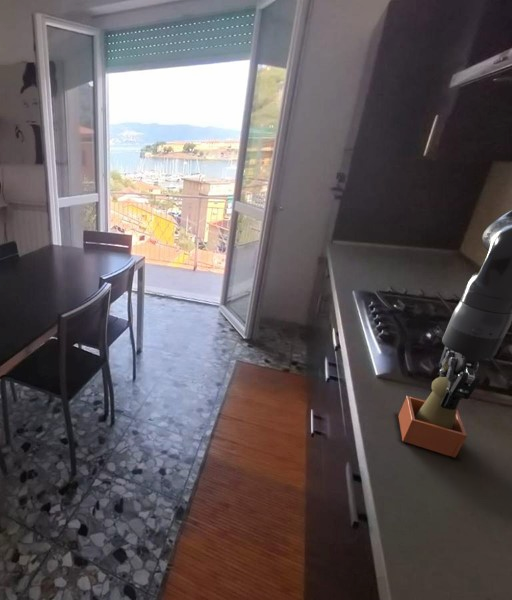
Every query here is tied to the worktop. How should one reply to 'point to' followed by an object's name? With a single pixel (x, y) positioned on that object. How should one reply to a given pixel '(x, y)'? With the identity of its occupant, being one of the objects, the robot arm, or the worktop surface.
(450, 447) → the box
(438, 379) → the cork
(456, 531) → the worktop surface
